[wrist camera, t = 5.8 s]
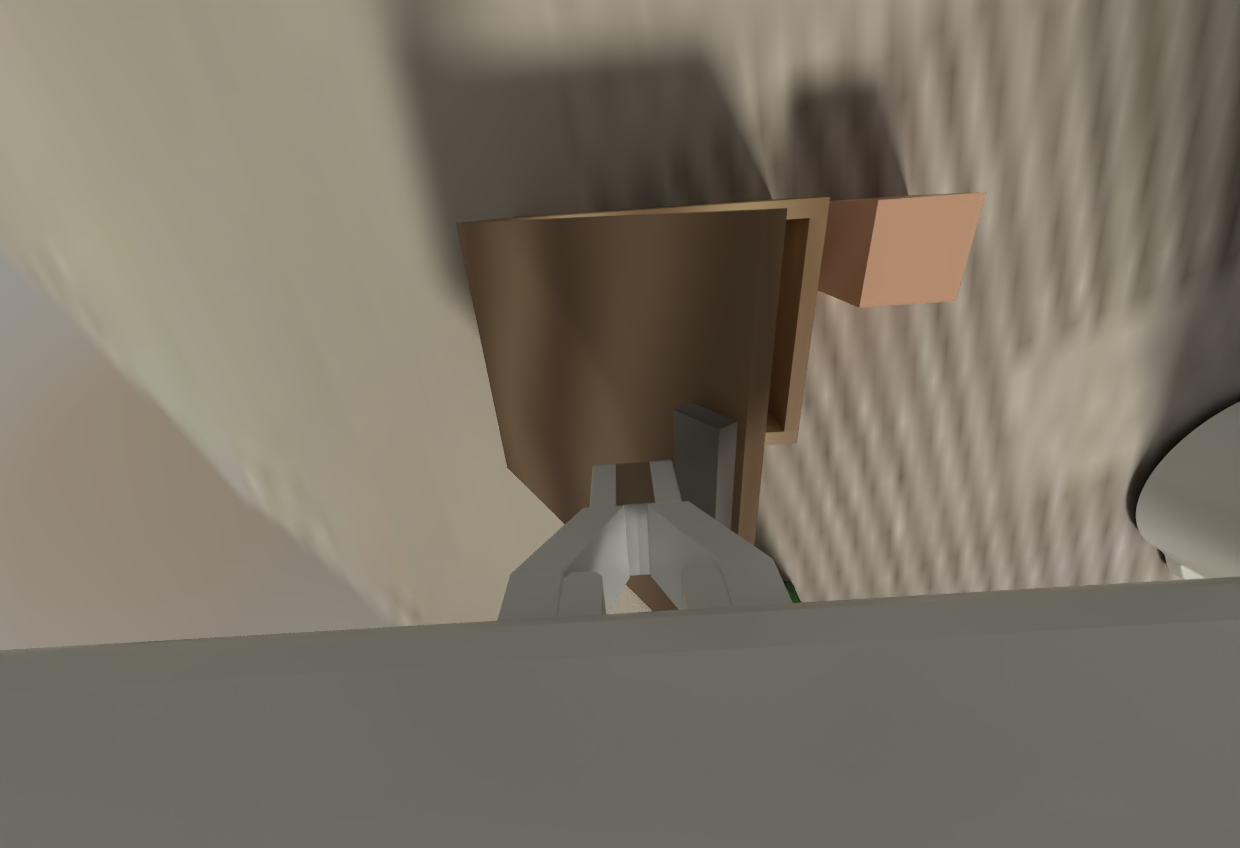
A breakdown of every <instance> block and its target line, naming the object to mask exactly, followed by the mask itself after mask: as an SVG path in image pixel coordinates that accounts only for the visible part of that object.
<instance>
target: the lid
mask: <svg viewBox="0 0 1240 848" xmlns="http://www.w3.org/2000/svg"><path fill="white" fill-rule="evenodd" d="M786 219H787V208H778V209H755V210H732V211H709V212H686V213H664V214H641V215H618V216H595V217H572V218H549V219H526V220H504V221H481V222H464V223H456V224H457V229H458V234H459V238H460V243H461V248H462V253H463V257H464V262H465V267H466V272H467V277H468V281H469V286H470V291H471V296H472V301H473V305H474V310H475V315H476V320H477V324H478V329H479V334H480V339H481V344H482V348H483V353H484V358H485V363H486V368H487V372H488V377H489V382H490V387H491V392H492V396H493V401H494V406H495V411H496V415H497V420H498V425H499V430H500V435H501V439H502V444H503V449H504V454H505V459H506V463H507V468H508V469H509V470H510V471H511V472H512V473H513V474H514V475H515V476H516V477H517V478H518V479H519V480H521V481H522V482H523V483H524V484H525V485H526V486H527V487H528V488H529V489H530V490H531V491H532V492H533V493H534V494H535V495H536V496H537V497H538V498H539V499H540V500H541V501H542V502H543V503H544V504H545V505H546V506H547V507H548V508H549V509H550V510H551V511H552V512H553V513H554V514H555V515H556V516H557V517H558V518H559V519H560V520H561V521H562V522H563V523H564V524H566V523H567V522H568V521H569V520H570V519H572V518H573V517H574V516H575V515H576V514H577V513H578V512H579V511H580V510H581V509H583V508H589V507H590V495H591V481H592V468H593V466H594V465H598V464H611V463H615V464H616V463H636V462H650V461H660V460H669V459H670V460H672V461H673V465H674V470H675V474H676V478H677V482H678V486H679V491H680V495H681V499H682V502H684V501H689V502H690V503H692V504H693V505H695V506H696V507H698V508H699V509H701V510H702V511H704V512H705V513H707V514H708V515H709V516H711V517H712V518H714V519H715V520H717V521H718V522H720V523H721V524H723V525H724V526H726V527H727V528H728V529H730V530H731V531H733V532H734V533H736V534H737V535H739V536H740V537H742V538H743V539H744V540H746V541H747V542H749V543H750V544H752V545H753V546H754V545H755V535H756V525H757V514H758V504H759V494H760V484H761V474H762V463H763V453H764V443H765V433H766V423H767V412H768V402H769V392H770V382H771V372H772V361H773V351H774V341H775V331H776V321H777V310H778V300H779V290H780V280H781V270H782V259H783V249H784V239H785V229H786ZM626 585H627V586H628V587H629V588H630V589H631V590H632V591H633V592H634V593H635V594H636V595H637V596H638V597H639V598H640V599H641V600H642V601H643V602H644V603H645V604H646V605H647V606H648V607H649V608H650V609H651V610H652V611H669V610H679V609H678V608H677V607H676V606H675V604H674V603H673V602H672V601H671V600H670V598H669V597H668V596H667V595H666V594H665V592H664V591H663V590H662V589H661V588H660V586H659V585H658V584H657V583H656V582H655V580H654V579H653V578H652V577H651V574H647V575H631V576H630V578H629V580H628V581H627V583H626Z"/></svg>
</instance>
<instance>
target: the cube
mask: <svg viewBox="0 0 1240 848" xmlns="http://www.w3.org/2000/svg"><path fill="white" fill-rule="evenodd" d="M985 195H986V192H982V193H955V194H928V195H904V196H890V197H876V198H863V199H849V200H835V201H830V202H829V209H828V217H827V224H826V232H825V239H824V246H823V254H822V261H821V268H820V276H819V283H818V291H821V292H823V293H826V294H828V295H831V296H833V297H835V298H838V299H840V300H843V301H845V302H847V303H850V304H852V305H855V306H857V307H874V306H888V305H903V304H918V303H933V302H948V301H956V300H957V296H958V293H959V289H960V286H961V282H962V278H963V275H964V271H965V267H966V264H967V260H968V256H969V253H970V249H971V246H972V242H973V238H974V235H975V231H976V227H977V224H978V220H979V216H980V213H981V209H982V206H983V202H984V198H985Z"/></svg>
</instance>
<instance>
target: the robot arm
mask: <svg viewBox="0 0 1240 848" xmlns="http://www.w3.org/2000/svg"><path fill="white" fill-rule="evenodd" d="M1136 522H1137V526H1138V529H1139V531H1140V533H1141V535H1142V536H1143V538H1144V539H1145V540H1146V541H1147V542H1149V543H1150V544H1151V545H1153V546H1154V547H1156V548H1158V549H1159V550H1160V551H1162V552H1163V553H1164V554H1165V559H1166V563H1167V566H1168V569H1169V571H1170V572H1171V573H1173V574H1175V575H1177V576H1178V577H1180V578H1182V579H1184V580H1170V581H1153V582H1136V583H1120V584H1103V585H1086V586H1069V587H1053V588H1036V589H1019V590H1002V591H986V592H969V593H952V594H937V595H920V596H903V597H886V598H869V599H853V600H836V601H819V602H802V603H793V602H792V600H791V598H790V596H789V594H788V591H787V589H786V587H785V585H784V583H783V580H782V578H781V576H780V574H779V571H778V569H777V567H776V565H775V563H774V560H773V559H772V558H771V557H769V556H768V555H766V554H765V553H763V552H762V551H761V550H759V549H758V548H756V547H755V546H753V545H752V544H750V543H749V542H747V541H746V540H744V539H743V538H742V537H740V536H739V535H737V534H736V533H734V532H733V531H731V530H730V529H728V528H727V527H726V526H724V525H723V524H721V523H720V522H718V521H717V520H715V519H714V518H712V517H711V516H709V515H708V514H707V513H705V512H704V511H702V510H701V509H699V508H698V507H696V506H695V505H693V504H692V503H690V502H689V501H684V502H682V499H681V495H680V491H679V486H678V482H677V478H676V474H675V470H674V465H673V461H672V460H670V459H669V460H660V461H650V462H636V463H616V464H615V463H611V464H598V465H594V466H593V468H592V481H591V495H590V507H589V508H583V509H581V510H580V511H579V512H578V513H577V514H576V515H575V516H574V517H573V518H572V519H570V520H569V521H568V522H567V523H566V524H565V525H564V526H563V527H562V528H561V529H560V530H558V531H557V532H556V533H555V534H554V535H553V536H552V537H551V538H550V539H549V540H547V541H546V542H545V543H544V544H543V545H542V546H541V547H540V548H539V549H538V550H537V551H535V552H534V553H533V554H532V555H531V556H530V557H529V558H528V559H527V560H526V561H524V562H523V563H522V564H521V565H520V566H519V567H518V568H517V569H516V570H515V571H514V572H512V573H511V574H510V578H509V581H508V585H507V588H506V592H505V596H504V599H503V603H502V606H501V610H500V613H499V617H498V620H497V621H484V622H468V623H451V624H434V625H417V626H400V627H383V628H368V629H350V630H333V631H316V632H299V633H282V634H266V635H249V636H234V637H233V636H232V637H215V638H199V639H182V640H166V641H148V642H132V643H116V644H98V645H81V646H64V647H48V648H31V649H14V650H0V848H1240V402H1238V403H1236V404H1234V405H1232V406H1230V407H1228V408H1227V409H1225V410H1223V411H1221V412H1220V413H1218V414H1216V415H1215V416H1213V417H1212V418H1210V419H1209V420H1207V421H1206V422H1204V423H1203V424H1201V425H1200V426H1199V427H1197V428H1196V429H1195V430H1193V431H1192V432H1191V433H1190V434H1188V435H1187V436H1186V437H1185V438H1184V439H1183V440H1181V441H1180V442H1179V443H1178V444H1177V445H1176V446H1175V447H1174V448H1173V449H1172V450H1171V451H1170V452H1169V453H1168V454H1167V455H1166V456H1165V457H1164V458H1163V460H1162V461H1161V462H1160V463H1159V464H1158V466H1157V467H1156V468H1155V469H1154V471H1153V472H1152V474H1151V475H1150V477H1149V478H1148V480H1147V482H1146V484H1145V485H1144V487H1143V489H1142V492H1141V494H1140V497H1139V500H1138V503H1137V509H1136ZM647 574H651V577H652V578H653V579H654V580H655V582H656V583H657V584H658V585H659V586H660V588H661V589H662V590H663V591H664V592H665V594H666V595H667V596H668V597H669V598H670V600H671V601H672V602H673V603H674V604H675V606H676V607H677V608H678V609H679V610H669V611H653V612H636V613H619V614H607V613H608V612H609V610H610V609H611V607H612V605H613V604H614V602H615V601H616V599H617V597H618V596H619V594H620V593H621V591H622V589H623V588H624V586H625V585H626V583H627V581H628V580H629V578H630V576H631V575H647Z"/></svg>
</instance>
